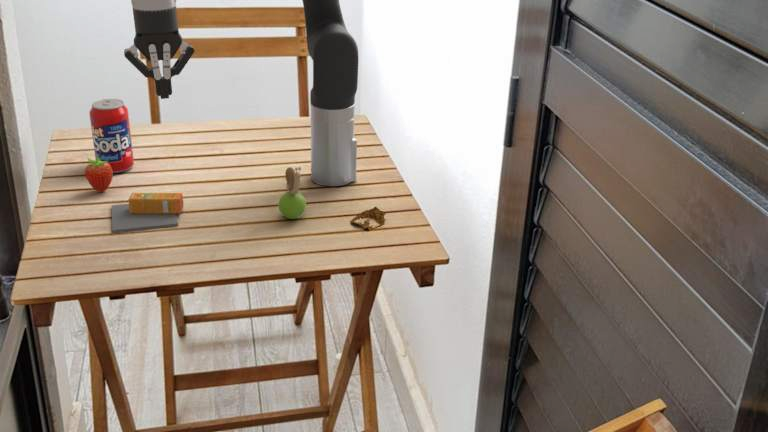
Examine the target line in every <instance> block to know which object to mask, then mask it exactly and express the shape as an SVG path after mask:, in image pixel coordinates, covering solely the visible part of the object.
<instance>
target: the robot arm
mask: <svg viewBox="0 0 768 432" xmlns="http://www.w3.org/2000/svg"><path fill="white" fill-rule="evenodd" d="M130 2H131V3H130V4H131V6H132V14H133V21H134V22H133V23H134V29H135V31H134V32H135V36H134V39H133V44H132V45H130V46H129V48H125V49H124V51H123V55H124V57H125V58H126V60H127V61H128V62H130V64H131V65H132V66H133V67H134V68H135V69H137V71H138V72H140V74H142V76H144V78H146V79H147V78H151V79H153V80H154V86H155V92H156V95H157V97H160V99H161V100H164V99H165V100H166V99H169V98H170V96H172V94H173V89H172V87H173V85H172V78H173V77H174V76H178V75H180V74H181V73H182V72H183V69H184V68H185V66H186V65H187V64H188V62H189V60H190V59H191V58H192V56H193V55H194V53H195V48H194V45H193V44H191V43H189V44H188V43H187V42H186V41H183V37H182V35H181V34H180V31H179V22H178V21H179V20H178V13H177V0H131V1H130ZM302 4H303V11H304V21H305V33H306V46H307V51H308V55H309V56H310V58H311V60H312V66H313V67H312V88H311V90H310V95H309V96H310V98H309V100H310V102H309V103H310V172H311V173H310V174H311V175H310V176H311V177H310V178H311V180H312V182H313V183H315V184H317V185H320V186H326V187H340V186H345V185H348V184H350V183H352V182H357V165H358V164H357V160H358V158H357V154H358V153H357V151H358V149H357V147H358V141H357V138H356V137H355V106H356V105H355V103H356V102H355V99H356V94H357V90H358V85H359V84H358V79H359V78H358V77H359V48H358V47H359V46H358V43H357V42H356V40H355V38H354V37H353V35H352V34H351V33H350V32H349V31H348V29H347V27H346V23H345V20H344V17H343V13H342V9H341V4H340V0H302ZM179 49H180V50H179ZM178 50H179V52H180V55H179V57H178V58H177V60H176V61H175V63H174V64H173V65H171V60H172V59H174V57H175V55H176V53H177V52H178ZM139 52H140V53H141V54H142V55H143V57H145V59H147V60H148V61H150V63H151V68H149V67H148V66H147V65H146V64H145V63H144V62H143V61H142V60H141V59H140V57H139ZM159 61H161V64H162V72H161V68H160V63H159Z"/></svg>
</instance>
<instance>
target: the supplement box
mask: <svg viewBox="0 0 768 432" xmlns="http://www.w3.org/2000/svg"><path fill="white" fill-rule="evenodd" d="M128 204H129V210H130V213H139V214H140V213H141V214H158V213H176V214H182V211H183V209H184V197H183V192H132V193H131V194H130V196H129V198H128Z"/></svg>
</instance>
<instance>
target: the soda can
mask: <svg viewBox="0 0 768 432" xmlns="http://www.w3.org/2000/svg"><path fill="white" fill-rule="evenodd" d="M124 103H125V102H124V101H123V100H121V99H119V98H104V99H99V100H96V101H93V102H92V103H91V108H90V110H89V112H88V113H89V120H90V127H91V135H92V142H93V150H94V157H95V158H94V159H96V156H98V157H99V158H100V160H101V161H107V160H108V161H107V163H108V164H110V166H111V167H112V171H113V174H119V173H120V174H121V173H124V172H127V171H128V170H130V169H131V168H132V167H133V166H134V164H135V163H134V161H135V159H134V151H133V145H132V144H133V142H132V134H131V127H130V125H131V124H130V117H129V110H128V108H127V106H126V105H125V104H124Z"/></svg>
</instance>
